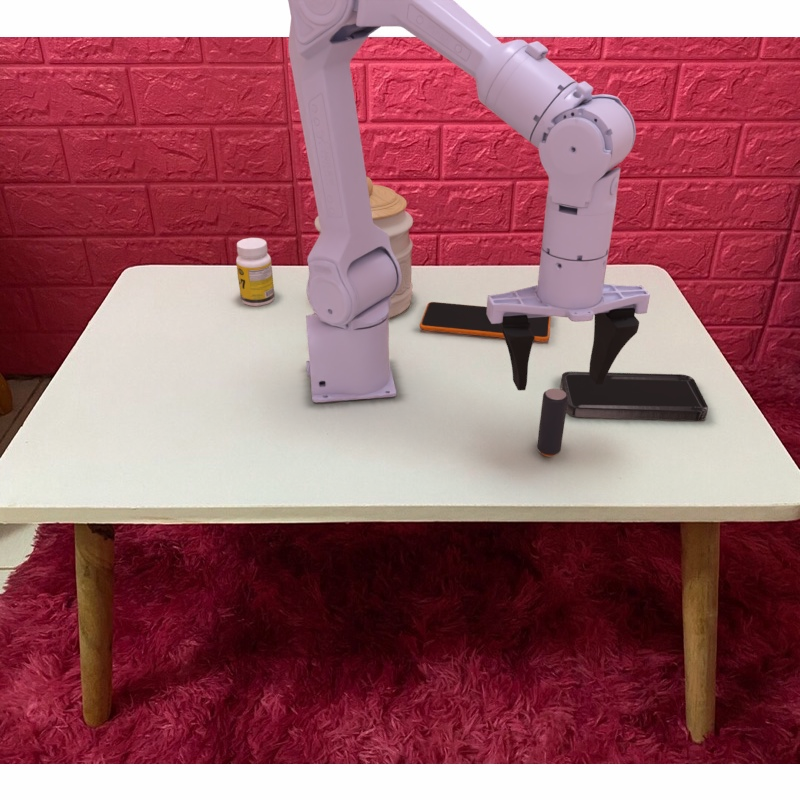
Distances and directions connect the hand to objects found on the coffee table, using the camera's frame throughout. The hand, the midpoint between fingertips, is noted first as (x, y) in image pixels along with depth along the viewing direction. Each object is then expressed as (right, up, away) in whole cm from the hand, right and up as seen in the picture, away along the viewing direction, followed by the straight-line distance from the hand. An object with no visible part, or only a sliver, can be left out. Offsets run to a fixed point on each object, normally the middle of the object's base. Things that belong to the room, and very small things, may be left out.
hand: (557, 382), depth 74 cm
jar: (-20, +12, +34) cm, 41 cm away
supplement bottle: (-35, +12, +34) cm, 51 cm away
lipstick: (0, -7, +5) cm, 8 cm away
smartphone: (-4, +8, +28) cm, 29 cm away
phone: (+11, -2, +13) cm, 17 cm away
